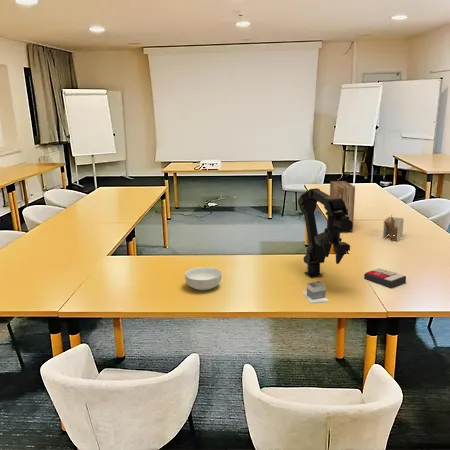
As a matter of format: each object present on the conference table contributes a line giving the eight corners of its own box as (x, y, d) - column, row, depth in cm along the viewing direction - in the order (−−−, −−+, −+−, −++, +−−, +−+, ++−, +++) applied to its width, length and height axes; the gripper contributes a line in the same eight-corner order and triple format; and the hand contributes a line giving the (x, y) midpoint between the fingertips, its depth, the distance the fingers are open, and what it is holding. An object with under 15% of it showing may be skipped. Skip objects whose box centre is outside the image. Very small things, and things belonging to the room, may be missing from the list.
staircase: (382, 240, 269) (384, 214, 265) (387, 236, 278) (389, 210, 274) (397, 242, 264) (399, 215, 260) (402, 238, 273) (404, 211, 269)
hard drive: (301, 290, 197) (310, 302, 185) (319, 289, 198) (329, 300, 186) (301, 294, 197) (310, 306, 185) (319, 292, 198) (329, 304, 187)
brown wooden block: (353, 232, 286) (355, 186, 278) (338, 233, 286) (340, 187, 278) (341, 222, 310) (343, 180, 303) (328, 223, 310) (330, 180, 302)
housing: (318, 292, 194) (319, 280, 193) (325, 297, 190) (325, 284, 188) (306, 295, 192) (307, 282, 191) (312, 299, 188) (313, 286, 186)
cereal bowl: (209, 297, 194) (209, 282, 192) (178, 290, 202) (177, 276, 200) (228, 283, 208) (228, 269, 206) (198, 278, 216) (197, 264, 214)
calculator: (378, 267, 215) (406, 274, 203) (378, 275, 216) (406, 283, 204) (363, 272, 209) (391, 280, 197) (363, 280, 210) (391, 289, 198)
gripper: (307, 223, 201) (305, 255, 205) (328, 234, 183) (326, 269, 188) (329, 220, 204) (327, 253, 208) (351, 231, 186) (349, 266, 191)
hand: (332, 260), depth 198 cm, fingers open, 9 cm apart
